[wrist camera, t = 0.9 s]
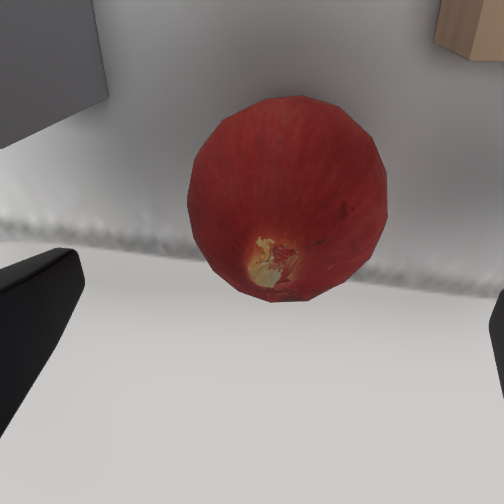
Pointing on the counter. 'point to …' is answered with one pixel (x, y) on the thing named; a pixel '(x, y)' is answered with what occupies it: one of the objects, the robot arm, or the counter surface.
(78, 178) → the counter surface
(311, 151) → the onion
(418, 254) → the counter surface
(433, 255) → the counter surface
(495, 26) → the door
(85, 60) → the jamb
